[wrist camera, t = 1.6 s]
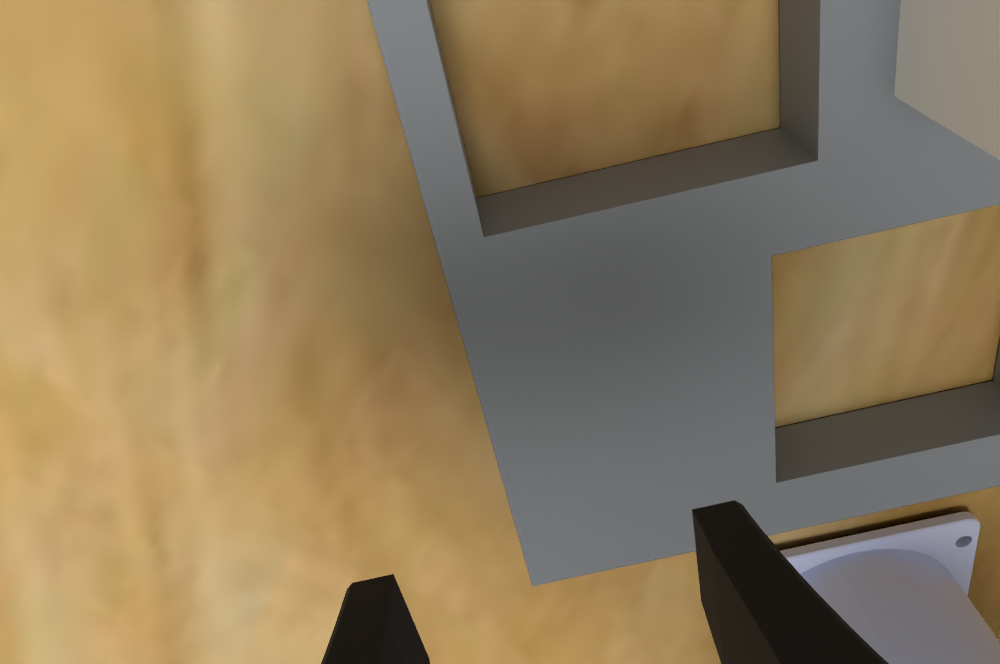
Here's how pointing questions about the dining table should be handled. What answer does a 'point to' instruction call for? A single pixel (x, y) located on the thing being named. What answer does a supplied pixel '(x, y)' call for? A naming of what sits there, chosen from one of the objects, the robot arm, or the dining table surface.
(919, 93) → the block
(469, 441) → the dining table surface
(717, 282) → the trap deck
